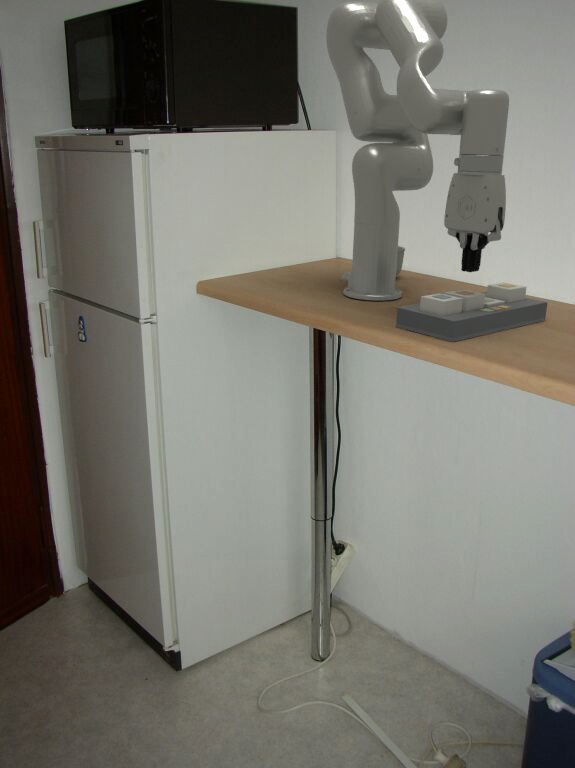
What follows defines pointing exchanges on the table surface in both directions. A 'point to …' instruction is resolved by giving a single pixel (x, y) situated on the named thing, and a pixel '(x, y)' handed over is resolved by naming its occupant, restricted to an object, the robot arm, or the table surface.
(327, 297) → the table surface
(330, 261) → the table surface
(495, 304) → the key sage
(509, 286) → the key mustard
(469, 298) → the key terracotta
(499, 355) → the table surface
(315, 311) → the table surface
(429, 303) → the key slate
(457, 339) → the keypad base
